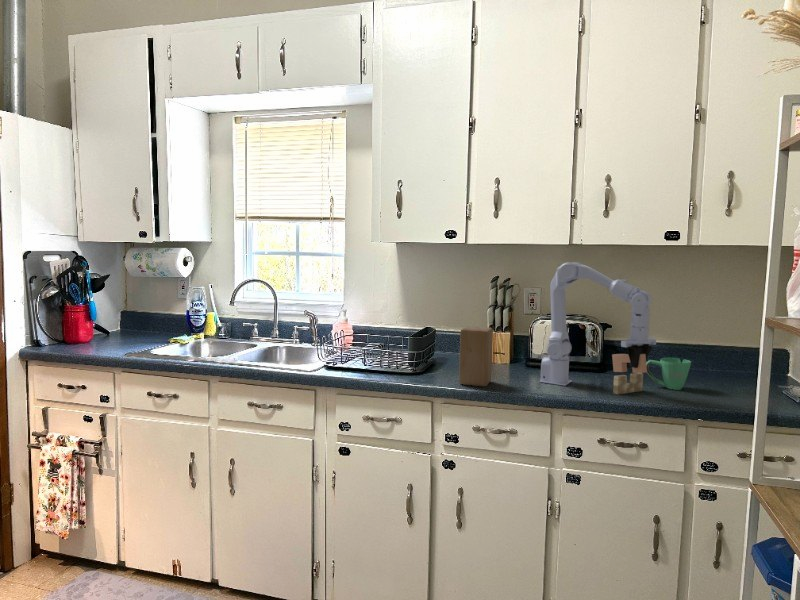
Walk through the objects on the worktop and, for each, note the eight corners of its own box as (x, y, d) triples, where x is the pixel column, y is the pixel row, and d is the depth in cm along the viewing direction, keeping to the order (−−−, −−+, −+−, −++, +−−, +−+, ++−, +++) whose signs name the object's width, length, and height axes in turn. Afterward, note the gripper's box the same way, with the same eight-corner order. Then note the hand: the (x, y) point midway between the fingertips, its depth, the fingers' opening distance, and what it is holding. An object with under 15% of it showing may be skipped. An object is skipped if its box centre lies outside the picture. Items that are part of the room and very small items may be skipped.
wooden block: (458, 384, 200) (459, 329, 198) (465, 378, 210) (466, 325, 208) (486, 387, 197) (487, 330, 195) (491, 381, 206) (493, 327, 204)
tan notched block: (617, 394, 190) (618, 376, 190) (613, 393, 192) (613, 375, 191) (642, 390, 196) (643, 373, 195) (637, 389, 197) (638, 372, 197)
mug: (686, 386, 203) (688, 358, 202) (691, 392, 194) (693, 364, 193) (642, 382, 208) (644, 355, 207) (645, 389, 198) (647, 360, 197)
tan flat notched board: (647, 372, 188) (645, 354, 188) (642, 372, 187) (640, 354, 187) (618, 371, 199) (617, 354, 199) (613, 371, 197) (612, 354, 198)
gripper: (634, 329, 182) (631, 371, 183) (664, 327, 188) (662, 367, 189) (616, 326, 188) (614, 366, 189) (647, 324, 194) (644, 363, 196)
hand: (637, 366), depth 190 cm, fingers closed on tan flat notched board, 2 cm apart
